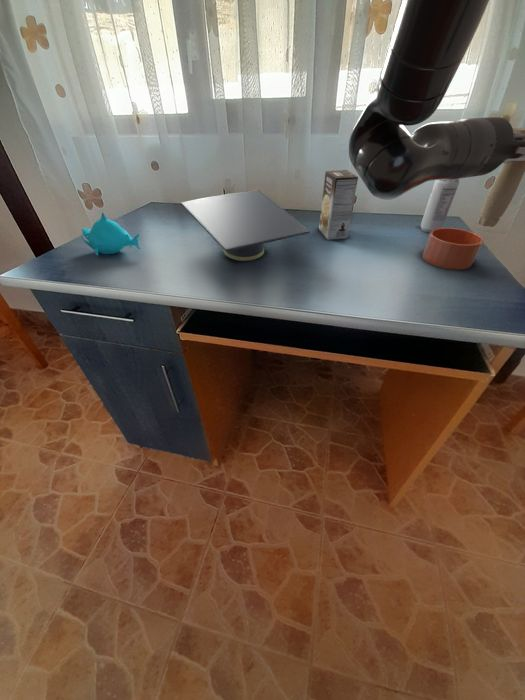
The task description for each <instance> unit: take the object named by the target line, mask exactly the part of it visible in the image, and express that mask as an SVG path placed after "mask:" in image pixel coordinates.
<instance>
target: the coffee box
mask: <svg viewBox="0 0 525 700" xmlns="http://www.w3.org/2000/svg"><path fill="white" fill-rule="evenodd" d="M358 181H359V176H357V175H356V174H353V173H352V172H351V171H349V170H347V169H340V170H325V173H324V182H323V190H322V199H321V200H322V201H321V208H320V217H319V227H318V230H319V231H320V232H321V234H322V235H323V236H324V237H325V238H326V240H343V239H348V236H349V229H350V223H351V219H352V212H353V207H354V202H355V196H356V191H357V187H358Z"/></svg>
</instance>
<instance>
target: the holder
mask: <svg viewBox="0 0 525 700" xmlns="http://www.w3.org/2000/svg"><path fill="white" fill-rule="evenodd" d="M428 235H429V236H428V238H427V240H426V244H425V246H424V249H423V252H422V255H421V256H422V259H423V260H424V261H425V262H427V263H428V264H430V265H432V266H435V267H438V268H441V269H448V270H466V269H469V268H471V267H472V265H473V264H474V262H475V260H476V258H477V256H478V254H479V252H480V250H481V248H482V245H483V243H484V238H483V236H481V235H479V234H478V233H476V232H473V231H470V230H466V229H461V228H455V227H442V228H438V229H434V230H432V231H431V232H430V233H429V234H428Z"/></svg>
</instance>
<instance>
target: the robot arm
mask: <svg viewBox="0 0 525 700" xmlns="http://www.w3.org/2000/svg"><path fill="white" fill-rule="evenodd" d="M489 2H490V0H401V1H400V4H399V7H398V11H397V14H396V18H395V21H394V24H393V28H392V31H391V35H390V38H389V41H388V46H387V49H386V52H385V56H384V59H383V63H382V66H381V70H380V74H379V77H378V82H377V84H376V86H375V88H374V90H373V91H372V93H371V95H370V97H369V98H368V100H367V102H366V104H365V106H364V108H363V110H362V112H361V113H360V115H359V117H358V119H357V121H356V123H355V125H354V127H353V128H352V131H351V133H350V136H349V141H348V158H349V161H350V163H351V165H352V166H353V169H354V170H355V171H356V173H357V174H358V177H360V179H361V181H362V182H363V183H364V185H365V186H366V188H367V190H368V191H369V193H370V194H371V195H372V196H373V197H375V198H378V199H379V200H380V199H381V200H385V201H388V200H389V201H391V200H394V199H396V198H399V197H401V196H402V195H404V194H406V193H407V192H409V191H411V190H412V189H414V188H416V187H418V186H421V185H423V184H424V183H427V182H432V181H436V180H439V179H450V180H451V179H459V180H460V179H466V178H472V177H473V178H474V177H481V176H485V175H487V174H490V173H492V172H493V171H496V169H498V168H499V167H500V166H501V165H502V164H504V163H508V162H509V161H525V140H524V139H525V134H522V133H520V132H513V128H514V127H513V126H512V124H511V122H510V121H508V120H507V119H506V118H503V117H500V116H491V117H489V116H488V117H468V118H461V119H458V120H454V121H453V120H452V121H451V120H449V121H436V122H428V123H426V124H424V125H422V126H420V127H418V128H416V129H415V130H414V131H413V132H412V133H410V132H409V130H407V128H406V126H407V127H408V126H409V127H410V126H416V125H419V124H422V123H423V122H426V120H428V119H429V118H430V117H432V115H433V114H435V112H436V111H437V109H438V108H439V106H440V104H441V103H442V101H443V99H444V98H445V96H446V93H447V91H448V89H449V87H450V85H451V83H452V81H453V79H454V77H455V76H456V74H457V71H458V70H459V68H460V65H461V63H462V62H463V59H464V57H465V55H466V53H467V51H468V49H469V46H470V45H471V43H472V41H473V39H474V38H475V35H476V32H477V30H478V28H479V26H480V24H481V22H482V19H483V17H484V14H485V12H486V10H487V7H488V5H489Z"/></svg>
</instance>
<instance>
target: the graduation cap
mask: <svg viewBox="0 0 525 700" xmlns="http://www.w3.org/2000/svg"><path fill="white" fill-rule="evenodd" d="M180 205H181V207H183V208H184V209H185V210H186V211H187V213H188V214H190V215H191V217H192V218H193V219H194V220H195V221H196V222H197V223H198V224H199V225H200V226H201V227H202V228H203V230H205V232H207V234H208V235H209V236H210V237H211V238H212V239H213V240H214V241H215V242H216V243H217V244H218V245H219V247H221V248H222V249H223V253H224V255H225V256H226V257H227V258H230V259H232V260H234V261H240V262H241V261H242V262H246V261H253V260H256V259H259V258H261V257H262V256H263V255H264V254H265V247H264V244H268V243H272V242H276V241H280V240H281V241H282V240H285V239H286V240H287V239H290V238H294V237H299V236H303V235H308V234H310V232H311V231H310V230H309V229H308V228H307V227H306V226H304V224H302V223H300V222H299V221H298V220H297V219H296V218H295V217H293V216H292V215H291V214H290V213H288V211H286V210H285V209H283V208H282V207H281V206H280V205H278V204H277V203H276V202H275V201H274V200H273V199H271V197H269V196H268V195H267V194H265V193H264V192H263V191H262V190H250V191H249V190H248V191H241V192H232V193H225V194H224V193H223V194H219V195H213V196H206V197H201V198H197V199H191V200H187V201H186V200H185V201H182V202H180Z"/></svg>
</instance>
